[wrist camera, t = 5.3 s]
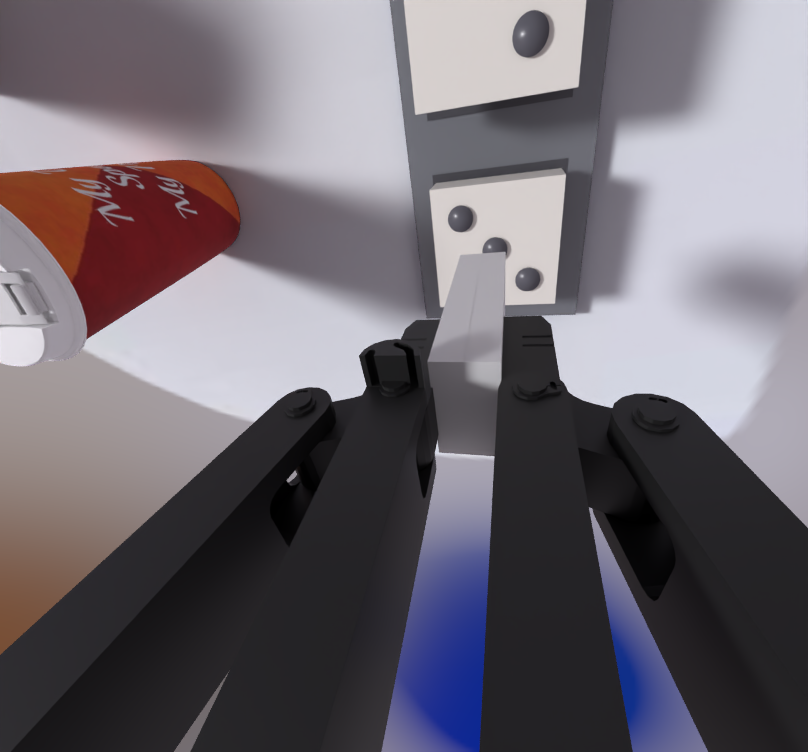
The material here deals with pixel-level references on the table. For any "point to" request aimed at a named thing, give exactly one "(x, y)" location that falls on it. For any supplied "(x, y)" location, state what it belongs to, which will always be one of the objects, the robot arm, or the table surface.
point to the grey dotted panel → (510, 152)
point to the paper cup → (100, 247)
